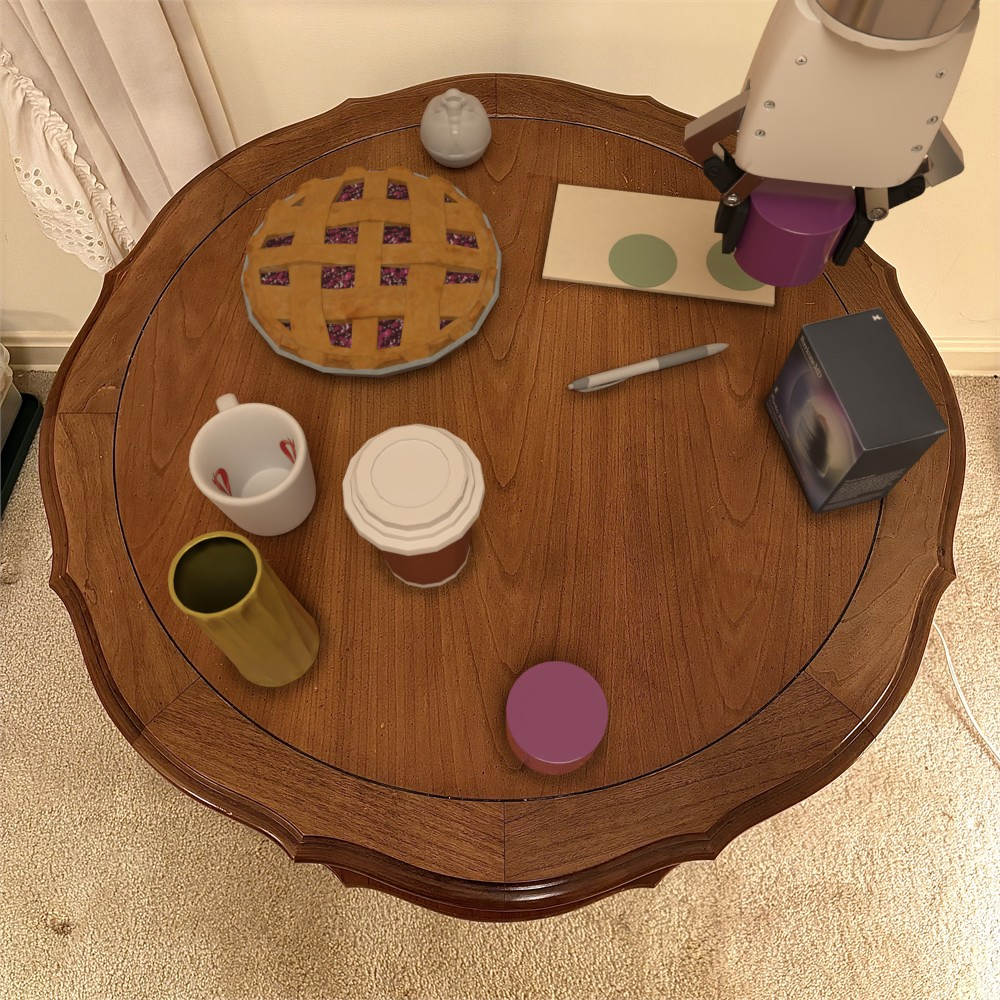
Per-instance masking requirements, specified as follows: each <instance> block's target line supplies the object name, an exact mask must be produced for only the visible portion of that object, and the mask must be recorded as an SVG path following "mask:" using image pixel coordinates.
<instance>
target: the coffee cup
mask: <svg viewBox="0 0 1000 1000" xmlns="http://www.w3.org/2000/svg"><path fill="white" fill-rule="evenodd" d="M341 488H342V498H343V499H342V500H343V508H344V512H345V514H346V515H347V517H348V519H349V520H350V523H352V525H353V528H354V529H355V530H356V532H357V534H358V535H359V536H360V537H361V538H363V539H365V540H366V541H367V542H369V543H370V544H372V545H373V546H374V547H376V548H378V550H379V552H380V553H381V555H382V557H383V559H384V561H385V563H386V565H387V566H388V568H389V570H390V571H391V573H392V575H393V576H394V577H396V578H397V579H399V580H400V581H401V582H403V583H405V584H406V585H409V586H413V587H417V588H422V589H426V588H433V587H439V586H442V585H444V584H446V583H448V582H449V581H451V580H452V579H454V578H456V577H457V576H458V575H459V574H460V572H461V571H462V570H463V568H464V567H465V566H466V565H467V561H468V558H469V554H470V551H471V538H472V529H473V524H474V523H475V522H476V521H477V519H478V518H479V516H480V514H481V509H482V506H483V502H484V498H485V494H486V485H485V478H484V473H483V468H482V463H481V462H480V460H479V458H478V457H477V455H475V453H474V451H473V450H472V449H471V447H470V445H469V444H468V442H466V441H465V440H463V439H461V438H460V437H458V436H457V435H455V434H453V433H451V432H450V431H449V430H447V429H445V428H443V427H437V426H433V425H427V424H423V423H414V424H407V425H406V424H405V425H400V426H393V427H390V428H388V429H386V430H385V431H382V432H380V433H379V434H377V435H375V436H373V437H371V438H369V439H367V441H366V442H364V444H363V445H362V446H361V447H360V448H359V450H358V451H357V452H356V453H355V454H354V455H353V456H352V457H351V458H350V460H349V463H348V466H347V468H346V471H345V475H344V477H343V480H342V483H341Z"/></svg>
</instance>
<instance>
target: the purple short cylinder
mask: <svg viewBox="0 0 1000 1000" xmlns="http://www.w3.org/2000/svg"><path fill="white" fill-rule="evenodd" d="M605 695H606V694H605V693H604V691H603V688H602V687H601V685H600V683H599V682H598V680H596V678H595V677H594V676H593V675H592V674H591V673H589V672H588V671H586V670H585V669H584V668H582V667H581V666H578V665H576V664H574V663H571V662H567V661H560V660H550V661H543V662H541V663H537V664H535V665H533V666H531V667H529V668H528V669H526V670H525V671H524V672H523V673H522V674H520V676H518V677H517V679H516V680H515V682H514V683H513V684H512V687H511V688H510V690H509V693H508V695H507V700H506V703H505V705H506V706H505V732H506V733H505V734H506V738H507V741H508V744H509V747H510V748H511V750H512V752H513V753H514V755H515V756H516V757H517V759H518V760H519V761H520V762H521V763H522V764H524V765H525V766H526V767H528V768H529V769H531V770H533V771H535V772H538V773H540V774H544V775H550V776H551V775H552V776H559V775H565V774H569V773H572V772H574V771H576V770H579V768H581V767H583V766H584V765H585V764H586V763H587V762H588V761H589V760H590V759H591V758H592V756H593V755H594V753H595V751H596V750H597V748H598V746H599V744H600V743H601V741H602V740H603V738H604V735H605V733H606V730H607V726H608V721H609V707H608V706H609V705H608V701H607V697H606V696H605Z"/></svg>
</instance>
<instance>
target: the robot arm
mask: <svg viewBox="0 0 1000 1000" xmlns="http://www.w3.org/2000/svg"><path fill="white" fill-rule="evenodd" d="M980 3H981V0H777V1H776V3H775V5H774V7H773V9H772V11H771V13H770V15H769V18H768V20H767V23H766V25H765V26H764V29H763V31H762V33H761V37H760V39H759V42H758V45H757V47H756V49H755V52H754V54H753V57H752V60H751V62H750V65H749V67H748V71H747V73H746V76H745V79H744V82H743V84H742V87H741V90H740V93H738V95H735V96H734V97H732V98H730V99H728V100H726V101H725V102H723V103H721V104H719V105H717V106H716V107H714V108H713V109H711V110H709V111H707V112H706V113H704V114H703V115H701V116H699V117H697V118H695V119H693V120H692V121H690V122H688V123H687V124H686V125H685V127H684V128H683V148H684V149H685V150H686V152H687V153H688V154H689V155H690V157H691V158H692V159H693V160H694V162H696V164H697V165H699V166H700V167H701V168H702V169H703V170H702V172H703V175H704V176H705V177H706V178H707V180H708V181H709V182H710V183H711V184H712V185H713V186H714V187H715V189H716V190H717V191H718V192H719V193H720V194H721V196H720V198H719V199H720V200H719V202H720V203H719V206H718V209H717V212H716V217H715V224H714V233H722V254H731V252H733V253H734V250H735V247H736V245H737V242H738V239H739V236H740V233H741V231H742V228H743V225H744V222H745V219H746V216H747V213H748V196H749V195H750V194H751V193H752V192H753V191H754V190H755V189H756V188H757V187H758V186H759V185H760V184H761V183H762V182H763V181H764V180H765V179H766V178H767V177H769V178H778V179H786V180H795V181H805V182H814V183H824V184H835V185H845V186H852V187H853V189H854V192H855V196H856V208H855V211H854V214H853V216H852V218H851V220H850V222H849V224H848V226H847V228H846V230H845V232H844V234H843V236H842V238H841V240H840V242H839V244H838V246H837V248H836V250H835V251H834V253H833V255H832V257H831V260H832V261H831V262H832V264H834V265H835V266H836V267H845V266H846V264H847V263H848V262H849V259H850V257H851V255H852V253H853V252H854V250H855V248H857V249H860V248H862V246H863V244H864V243H865V240H866V239H867V237H868V235H869V234H870V231H871V230H872V227H873V226H874V224H875V222H879V221H880V222H881V221H883V220H885V219H886V218H887V217H888V216H889V213H890V211H891V209H895V208H896V207H898V206H901V205H903V204H905V203H907V202H909V201H912V200H914V199H916V198H918V197H921V196H922V195H923V194H924V193H925V192H926V190H927V189H928V188H930V187H931V188H934V187H936V186H937V185H940V184H942V183H944V182H946V181H948V180H951V179H953V178H955V177H957V176H959V175H960V174H962V173H963V172H964V171H965V167H966V166H965V160H964V153H963V149H962V148H961V146H960V145H959V143H958V142H957V140H956V139H955V137H954V135H953V134H952V133H951V131H950V130H949V128H948V126H947V124H946V123H945V122H944V119H945V117H946V114H947V112H948V110H949V107H950V106H951V103H952V100H953V97H954V96H955V92H956V90H957V87H958V84H959V82H960V79H961V77H962V73H963V71H964V68H965V65H966V62H967V61H968V57H969V54H970V51H971V47H972V44H973V42H974V38H975V35H976V31H977V27H978V24H979V21H980V16H981V15H980V14H981V10H980V9H981V8H980ZM736 132H737V136H736V137H737V138H736V142H735V147H736V149H735V152H734V153H733V154H731V153H730V151H729V150H728V149H727V148H726V147H725V146H724V145H723V144H722V143H720V141H722V140H723V139H725V138H727V137H729V136H731V135H732V134H734V133H736Z"/></svg>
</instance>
